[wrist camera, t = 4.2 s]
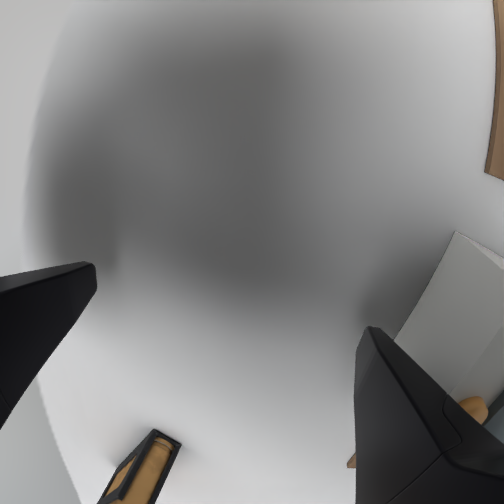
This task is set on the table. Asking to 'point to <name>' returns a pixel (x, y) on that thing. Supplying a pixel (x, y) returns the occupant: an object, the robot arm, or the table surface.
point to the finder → (463, 330)
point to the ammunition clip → (142, 472)
